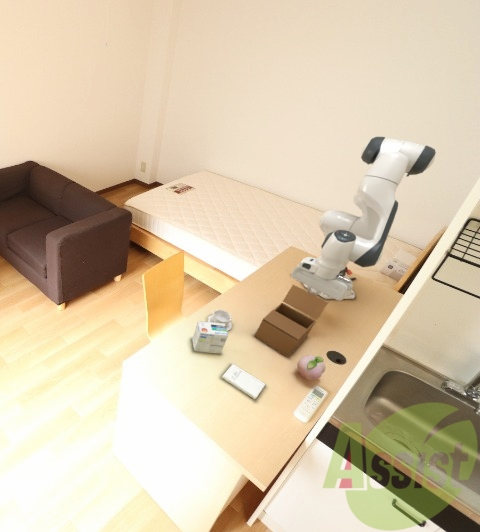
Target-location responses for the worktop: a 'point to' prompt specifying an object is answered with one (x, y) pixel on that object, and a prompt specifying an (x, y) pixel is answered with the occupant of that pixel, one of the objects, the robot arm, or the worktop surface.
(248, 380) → the hard drive
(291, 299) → the flap
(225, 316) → the teacup
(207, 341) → the light bulb box
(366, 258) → the robot arm
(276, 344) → the carton
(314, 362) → the decorative fruit
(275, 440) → the worktop surface
